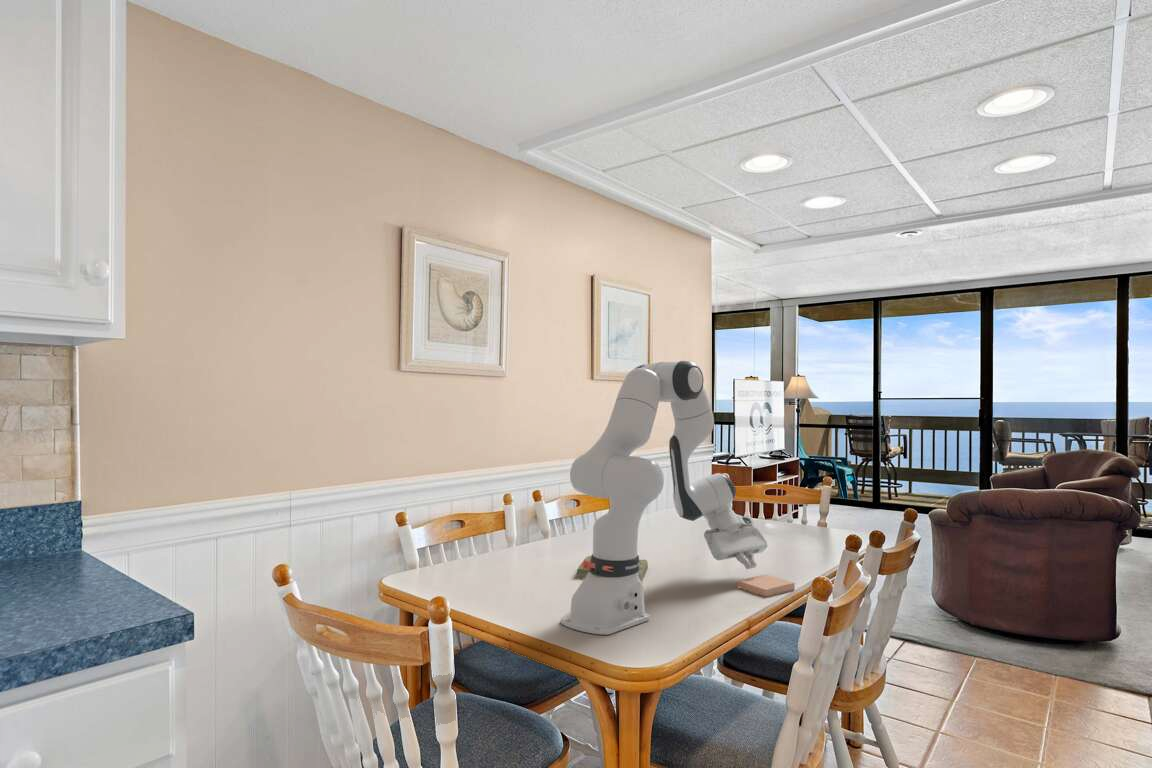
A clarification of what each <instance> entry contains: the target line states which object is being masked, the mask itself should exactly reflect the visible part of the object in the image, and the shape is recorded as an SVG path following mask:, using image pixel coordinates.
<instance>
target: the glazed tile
mask: <svg viewBox="0 0 1152 768" xmlns="http://www.w3.org/2000/svg"><path fill="white" fill-rule="evenodd" d="M736 581H737V583H736V587H740V588H743V589H745V590H744V591H746V590H748V591H747V592H749V591H751V592H750V593H752V592H754V593H753V594H755V593H757V594H756V595H758V594H760V595H759V596H761V595H762V596H761V597H764V596H765V598H767V597H766V596H768V597H771V595H772V596H776V595H779V594H782V593H788V592H791V591H795V589H796V588H795V585H796V584H795V582H793V581H789V580H787V579H783V578H780V577H776V576H773V575H769V574H761V575H758V576H757V575H756V576H753V577H747V578H743V579H738V580H736ZM740 588H739V589H740ZM743 589H742V590H743ZM775 594H776V595H775Z"/></svg>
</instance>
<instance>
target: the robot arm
mask: <svg viewBox="0 0 1152 768" xmlns="http://www.w3.org/2000/svg"><path fill="white" fill-rule="evenodd" d="M704 381H705V380H704V375H703V372H702V369H701V368H700V367H699V366H698V365H697V364H696V363H695V362H692V361H689V360H680V361H657V362H653V363H650V364H640V365H638V366H636V367H635V368H633V369H632V370H630V371H629V372H628V373H627V374H626V376H625V378H624V379H623V382H622V384H621V386H620V388H619V390H618V393H617V396H616V399H615V402H614V406H613V409H612V412H611V415H610V417H609V420H608V422H607V425H606V427H605V430H604V432H603V433H602V435H601V436H600V437H599V439H598V440H597V441H596V442H595V444H594V445H592V447H591V448H590V449H589V450H587V451H586V452H585V453H583V454H582V455H580V456H578V457H576V459H574V461H573V462H572V464H571V467H570V471H569V479H570V483H571V485H572V487H573V489H574V490H575V491H577V492H579V493H581V494H584V495H585V496H589V497H592V498H599V499H600V498H601V499H608V500H610V505H609V508H608V511H607V513H605V514H604V515H601V516H600V517H599V518H598V519H596V521H595V522H594V524H593V526H592V527H593V528H592V554H591V555H590V556H591V559H590V561H586V560H584V559H583V560H584V561H583V560H582V562H584V563H582V562H581V563H582V564H583V565H582V567H584V568H583V569H588V571H589V572H588V574H587V576H586V577H585V579H582V581H581V583H580V585H579V586H578V588H577V589H576V591H575V592H573V593H574V594H572V597H571V601H570V611H568V612H567V613H566V614H564V615H563V616H561V617H560V622H559V623H561V624H562V625H563V626H565V627H567V628H570V629H573V630H575V631H579V632H584V633H586V634H587V633H588V634H594V635H603V636H604V635H605V636H606V635H608V636H609V635H612V634H614V633H617V632H620V631H622V630H625V629H629V628H631V627H634V626H636V625H639V624H642V623H645V622H647V621H650V618H649V617H650V615H649V614H648V613H647V612H646V609H645V593H644V585H643V581H642V582H641V580H640V578H639V575H638V571H639V565H640V561H639V560H640V556H639V555H638V542H639V541H638V540H639V539H638V538H639V537H638V536H639V528H640V521H641V518H642V516H643V513H644V512H645V510H646V509H647V507H648V506H649V504H651V503H652V502H653V501H655V500H656V499H657V498H658V497H659V495H660V494H661V492H662V490H663V487H664V482H665V481H664V479H665V477H664V473H663V470H662V468H661V467H660V465H659V464H658V463H657V462H656V461H653V460H650V459H647V458H644V457H640V456H631V454H632V453H633V452H634V451H636V450H637V449H639V448H641V447H642V446H645V444H646V443H648V441H649V439H650V437H651V434H652V430H653V428H654V423H655V420H656V415H657V412H658V408H659V403H660V402H661V403H662V402H663V403H670V407H671V413H672V414H673V415H672V416H673V419H674V430H673V434H672V436H671V437H670V438H669V441H668V442H669V443H668V444H669V445H668V449H669V459H670V460H669V461H670V468H671V474H672V475H671V476H672V477H671V478H672V485H673V486H672V487H673V504H674V508H675V511H676V512H677V515H679V517H681V518H682V519H685V520H687V521H690V522H691V521H692V522H694V521H696V520H698V519H700V518H701V517H703V518H704V519H705V520H706V521H707V525H708V527H709V528H710V529H706V530H705V532H704V533H703V537H704V539H705V541H706V543H707V546H708V549H709V551H710V553H711V555H712V557H713V558H714V559H715V560H716V561H723V560H729V559H734V558H735V559H736V560H737V561H738V562H739V563H741V564H742V565H743V566H744V567H745V569H746V570H749V569H754V568H756V567H757V566H758V565H757V562H756V561H755V556H754V555H756V554H761V553H763V552H764V551H765V550H766V549H767V548H768V541H767V540H766V538H765V536H764V535H763V534H762V532H761V530H760V529H759V528H758V527H757V526H755V525H754V523H755V522H754V520H753V519H752V518H751V517H748V516H744V515H740V514H737V513H735V511H734V510H733V509H732V508H731V504H733V501H734V500H735V497H736V494H737V489H736V485H735V484H734V483H733V481H732V479H731V478H730V477H729V476H728V475H726V474H724V473H721V472H717V473H713V474H710V475H708V476H706V477H704V478H701V479H699V480H697V481H695V482H693V483H690V475H689V468H688V466H689V465H688V464H689V462H688V461H689V458H690V457H691V455H692V453H693V452H694V451H695V450H697V448H698V447H699V446H700V445H701V444H702V443H704V442H705V441H706V440H707V439H708V438H709V436H710V435H711V434H712V432H713V430H714V426H715V418H714V413H713V410H712V406H711V405H712V404H711V402H710V400H709V397H708V394H707V392H706V389H705V387H704V383H705V382H704Z"/></svg>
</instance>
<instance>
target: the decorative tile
mask: <svg viewBox="0 0 1152 768" xmlns="http://www.w3.org/2000/svg"><path fill="white" fill-rule="evenodd" d="M591 556H592V555H588V556H586V557H584V559H583V560H582V562H581V563H580V564H579V566H578V568H577V570H576V574H575V575H576V577H575V578H576V579H578V578H585V577H586V576H587V574H588V572H589V571H588V569H583V568H584V567H582V565H583V564H582V563H584V562H583V561H584V560H586V561H590V559H591ZM639 561H640V565H639V571H638V575H639V578H640V580H641V582H642V583H643V581H642V580H644V579H643V578H645V576H646V573H647V570H648V569H649V568H648V567H649V564H648V560H647V559H639Z"/></svg>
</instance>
